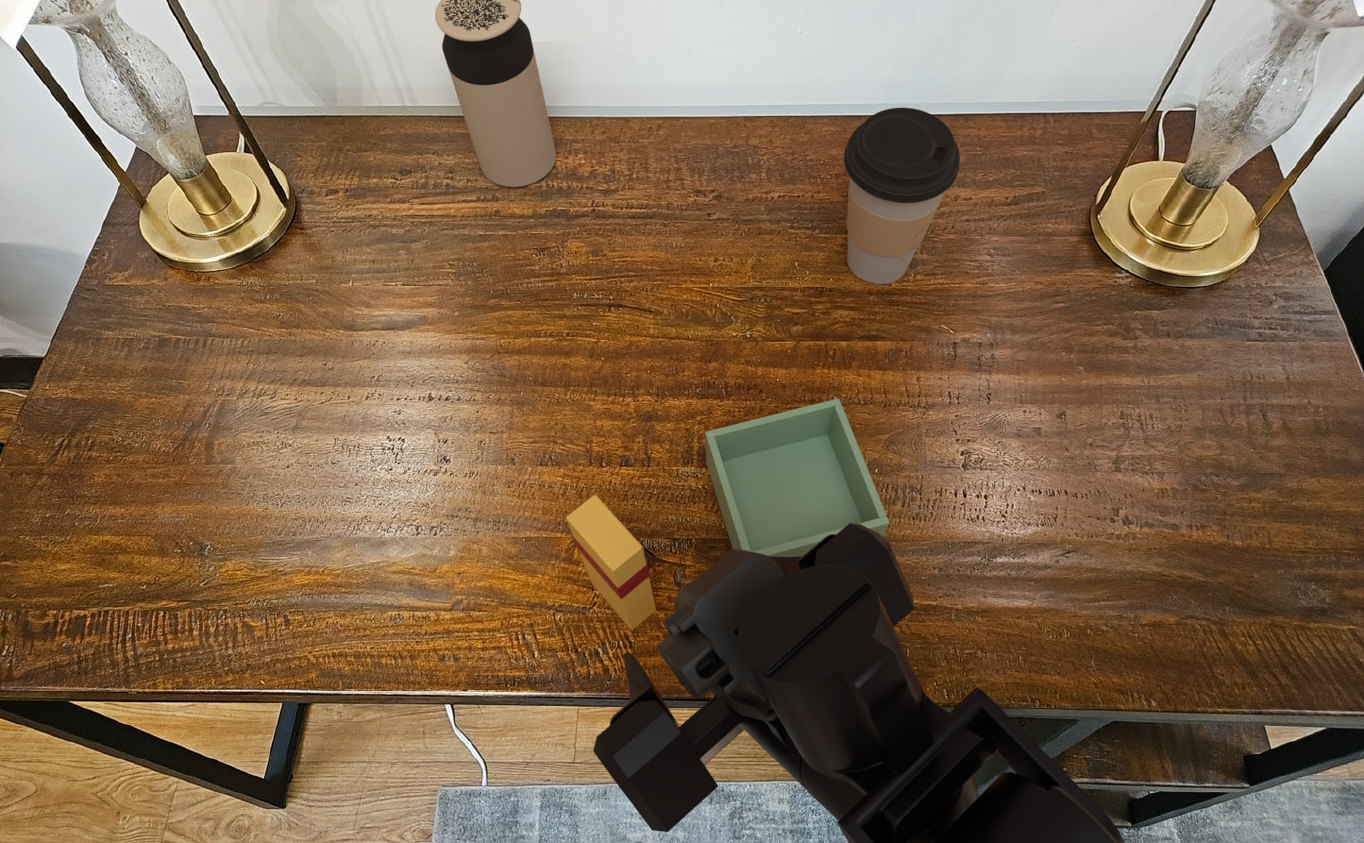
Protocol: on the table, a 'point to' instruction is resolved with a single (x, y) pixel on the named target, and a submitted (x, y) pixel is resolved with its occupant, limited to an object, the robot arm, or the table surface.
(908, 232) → the coffee cup
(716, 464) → the green open square box
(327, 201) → the table surface
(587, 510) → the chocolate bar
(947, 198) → the table surface
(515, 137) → the travel mug
